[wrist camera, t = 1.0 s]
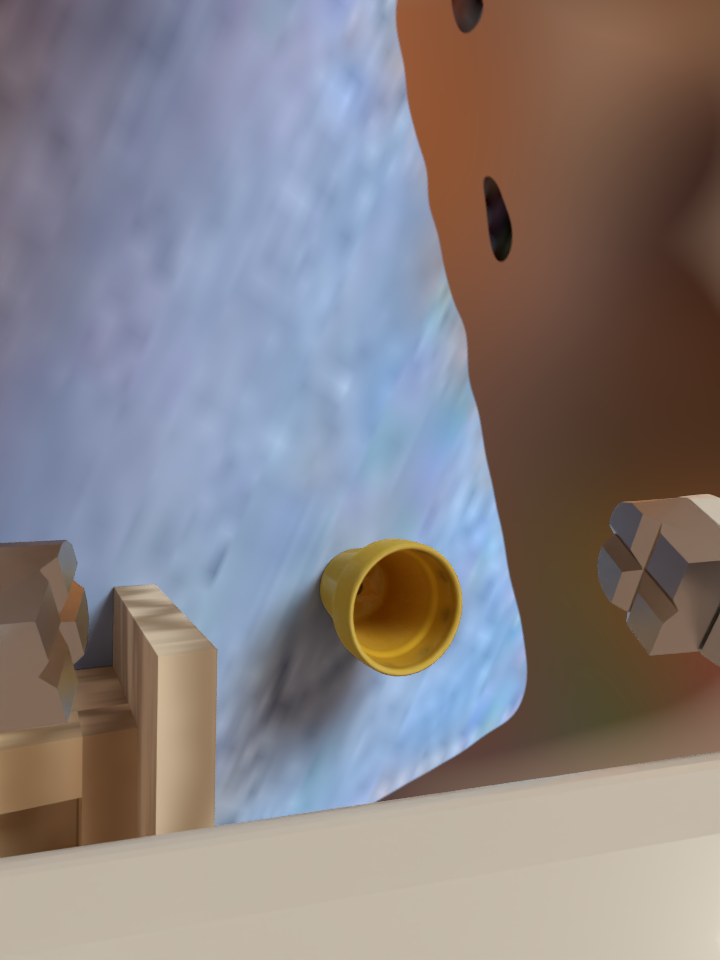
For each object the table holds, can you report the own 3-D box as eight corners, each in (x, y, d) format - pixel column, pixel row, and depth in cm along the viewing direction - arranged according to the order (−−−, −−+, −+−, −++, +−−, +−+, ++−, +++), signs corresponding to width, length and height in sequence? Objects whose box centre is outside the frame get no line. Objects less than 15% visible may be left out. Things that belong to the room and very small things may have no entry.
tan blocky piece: (-79, 951, 43) (-140, 1245, 27) (-79, 600, 42) (-141, 692, 26) (151, 886, 50) (209, 1090, 34) (155, 584, 49) (217, 649, 33)
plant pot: (287, 637, 55) (336, 673, 46) (311, 519, 55) (365, 532, 47) (388, 647, 59) (450, 681, 51) (410, 538, 60) (475, 553, 51)
